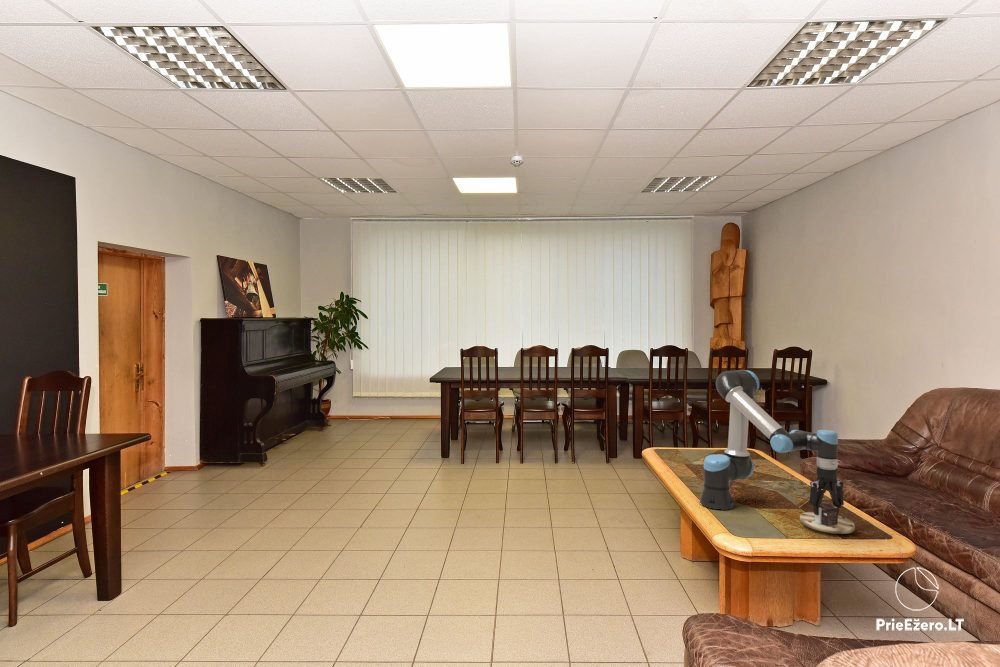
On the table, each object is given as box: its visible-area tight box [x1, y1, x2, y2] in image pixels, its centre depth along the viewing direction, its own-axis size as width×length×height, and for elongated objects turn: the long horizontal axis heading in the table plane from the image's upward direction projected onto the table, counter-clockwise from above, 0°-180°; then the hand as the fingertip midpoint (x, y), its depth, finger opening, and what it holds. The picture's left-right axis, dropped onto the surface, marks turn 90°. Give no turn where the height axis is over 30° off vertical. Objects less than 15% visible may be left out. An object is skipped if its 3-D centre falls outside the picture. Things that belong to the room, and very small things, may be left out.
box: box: [820, 502, 839, 526], centre depth 227 cm, size 6×6×7 cm
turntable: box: [799, 504, 855, 535], centre depth 232 cm, size 20×20×6 cm
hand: (826, 522), depth 228 cm, fingers closed on box, 7 cm apart
